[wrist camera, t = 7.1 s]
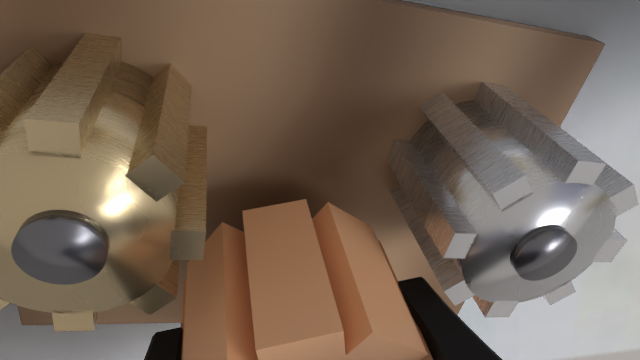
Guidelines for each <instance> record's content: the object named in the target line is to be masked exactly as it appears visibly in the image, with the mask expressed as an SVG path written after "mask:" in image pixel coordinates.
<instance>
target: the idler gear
mask: <svg viewBox="0 0 640 360" xmlns="http://www.w3.org/2000/svg"><path fill="white" fill-rule="evenodd" d="M242 212H243V223H244V232H243V231H240V230H238V229H236V228H234V227H232V226H230V225H228V224H225V223H223V222H222V223H221V224H220V225H219V226H218V227H217V229H216V230H215V231H214V232H213V233H212V235H211V236H210V237H209V238H208V239H207V241H206V242H205V246H204V255H203V260H190V261H189V262H188V263H187V279H184V288H183V305H182V322H181V327H182V330H183V335H182V353H181V360H433V358H432V356H431V353H430V351H429V349H428V347H427V344H426V342H425V340H424V338H423V335H422V333H421V331H420V330H419V328H418V326H417V324H416V322H415V321H414V319H413V317H412V315H411V313H410V311H409V308H408V306H407V304H406V301H405V299H404V297H403V295H402V292H401V290H400V288H399V286H398V280H397V277H396V275H395V273H394V271H393V268H392V266H391V264H390V262H389V260H388V257H387V255H386V253H385V251H384V248H383V246H382V244H381V242H380V240H377V238H376V236H375V233H374V231H373V229H372V227H371V226H369V225H368V224H366V223H364V222H362V221H360V220H359V219H357V218H355V217H353V216H352V215H350V214H348V213H346V212H345V211H343V210H341V209H339V208H338V207H336V206H334V205H332V204H331V203H329V202H327V204H326V205H325V206H324V207H323V208H322V209H321V210H320V211H319V212H318V213H317V214H316V215H315V216H314V217H313V218H311V214H310V211H309V207H308V204H307V200H306V199H303V200H298V201H293V202H287V203H282V204H277V205H271V206H266V207H261V208H255V209H250V210H244V211H242Z"/></svg>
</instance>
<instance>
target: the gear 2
mask: <svg viewBox="0 0 640 360" xmlns="http://www.w3.org/2000/svg"><path fill="white" fill-rule="evenodd" d="M419 107H420V109H421V111H422V113H423V114H424V116H425V118H426V120H427V121H426V122H425V123H424V124H423V125H422V126H421V127H420V128H419V129H418V131H417V132H416V133H415V135H414V136H413V137H412V139H411V140H402V139H393V141H392V144H391V147H390V150H389V153H388V156H387V158H386V161H387V163H388V164H389V166H390V168H391V169H392V171H393V173H394V175H395V176H396V178H397V180H398V181H399V183H400V184H399V185H397V186H395V187H394V188H392V189H391V190H389V191H390V193H391V194H392V196H393V198H394V200H395V202H396V204H397V205H398V207H399V209H400V211H401V213H402V215H403V217H404V218H405V220H406V222H407V224H408V226H409V228H410V230H411V231H412V233H413V235H414V237H415V239H416V241H417V243H418V244H419V246H420V248H421V250H422V252H423V254H424V256H425V257H426V259H427V261H428V263H429V265H430V267H431V269H432V270H433V272H434V274H435V276H436V278H437V280H438V281H439V283H440V285H441V287H442V289H443V291H444V292H445V294H446V295H447V296H448V298H449V299H450V300H451V301H452V303H453V304H454V305H455V306H456V305H458V304H460V303H461V302H463V301H465V300H467V299H469V298H470V297H472V296H473V298H474V300H475V301H476V303H477V305H478V306H479V308H480V310H481V311H482V313H483V315H484V316H485V317H509V316H510V314H511V313H512V311H513V310H514V308H515V307H516V305H517V303H518V302H524V301H528V300H532V299H535V298H538V297H541V296H544V298H545V299H546V300H547V302H548V303H549V304H550V305H552V304H554V303H555V302H557V301H559V300H561V299H563V298H565V297H567V296H569V295H570V294H572V293H574V292H576V291H575V289H574V287H573V284H572V282H571V280H573V279H574V278H576V277H577V276H578V275H580V274H581V273H582V272H583V271H584V270H585V269H587V268H588V267H589V266H590V265H591V264H592V263H593V262H612V260H613V259H614V258H615V256H616V255H617V254H618V252H619V251H620V249H621V248H622V247H623V245H624V244H625V243H626V241H627V240H626V239H625V238H624V237H623V236H622V235H621V234H620V233H619V232H618V231H617V230H616V229H614V225H615V217H617V216H618V215H620V214H622V213H624V212H626V211H627V210H629V209H631V208H633V207H635V206H636V205H638V200H637V196H636V191H635V187H634V184H633V183H631V182H630V181H629V180H627V179H626V178H625V177H624V176H622V175H621V174H620V173H618V172H617V171H616V170H614V169H613V168H612V167H611V166H609V165H608V164H607V163H605V162H604V161H603V160H601V159H600V158H599V157H598V156H596V155H595V154H594V153H592V152H591V151H590V150H588V149H587V148H586V147H585V146H583V145H582V144H581V143H579V142H578V141H577V140H575V139H574V138H573V137H572V136H570V135H569V134H568V133H566V132H565V131H564V130H562V129H561V128H560V127H559V126H557V125H556V124H555V123H553V122H552V121H551V120H549V119H548V118H547V117H546V116H544V115H543V114H542V113H540V112H539V111H538V110H537V109H535V108H534V107H533V106H531V105H530V104H528V103H527V102H526V101H524V100H523V99H522V98H521V97H519V96H518V95H517V94H515V93H514V92H513V91H511V90H510V89H509V88H508V87H506V86H505V85H502V84H495V83H489V82H481V84H480V87H479V89H478V92H477V94H476V96H475V99H474V100H469V101H464V102H460V103H457V104H454V103H453V102H452V101H451V100H450V99H449V98H448V97H447V96H446V95H445V94H444V93H443V92H441V93H439V94H438V95H436V96H434V97H433V98H431V99H430V100H428V101H427V102H425V103H424V104H422V105H421V106H419Z"/></svg>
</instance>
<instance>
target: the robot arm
mask: <svg viewBox="0 0 640 360" xmlns="http://www.w3.org/2000/svg"><path fill="white" fill-rule="evenodd" d="M398 286H399V288H400V290H401V292H402V295H403V297H404V299H405V301H406V304H407V306H408V308H409V311H410V313H411V315H412V317H413V319H414V321H415V322H416V324H417V326H418V328H419V330H420V331H421V333H422V335H423V338H424V340H425V342H426V344H427V347H428V349H429V351H430V353H431V356H432V358H433V360H502V359H501V358H500V357H499V356H498V355H497V354H496V353H495V352H494V351H493V350H491V349H490V348H489V347H488V346H487V345H486V344H485V343H484V342H483V341H482V340H481V339H480V338H479V337H478V336H477V335H476V334H475V333H474V332H473V331H472V330H471V329H470V328H469V327H468V326H467V325H466V324H465V323H464V322H463V321H462V320H461V319H460V318H459V317H458V316H457V315H456V314H455V312H454V311H453V310H452V309H451V308H450V307H449V306H448V305H447V304H446V303H445V302H444V301H443V299H442V298H441V297H440V296H439V295H438V294H437V293H436V292H435V290H434V289H433V288H432V287H431V286H430V285H429V284H428V282H427V281H426V280H425V279H424V278H422V277H416V278H411V279H407V280H402V281H398ZM182 335H183V330H182V327H180V328H175V329H171V330H166V331H161V332H156V333H155V334H154V336H153V337H152V340H151V343H150V345H149V348H148V351H147V353H146V356H145V359H144V360H181V353H182Z"/></svg>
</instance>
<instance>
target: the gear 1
mask: <svg viewBox="0 0 640 360" xmlns="http://www.w3.org/2000/svg"><path fill="white" fill-rule="evenodd" d="M191 94H192V86H191V85H190V84H189V82H188V81H187V80H186V79H185V78H184V77H183V76H182V75H181V74H180V73H179V72H178V71H177V69H176V68H175V67H174V66H173V65H172V64H171V63H170V64H169V65H168V66H166V67H165V68H164V69H163V70H161V71H160V72H159V73H157V74H156V75H155V76H153V77H152V76H151V75H149V74H148V73H146V72H144V71H143V70H141V69H139V68H137V67H135V66H132V65H130V64H128V63H125V62H122V38H120V37H113V36H106V35H99V34H92V33H85V34H84V36H83V37H82V39H81V40H80V41H79V43H78V44H77V46H76V47H75V48H74V50H73V51H72V53H71V54H70V55H69V57H68V58H67V60H66V61H63V62H60V63H58V64H56V65H54V64H53V63H52V62H51V61H50V60H49V59H48V58H47V57H46V56H44V55H43V54H42V53H41V52H40V51H39V50H38V49H37V48H36V47H35V46H33V45H32V46H31V47H30V48H29V49H28V50H26V51H25V52H24V53H23V54H22V55H20V56H19V57H18V58H17V59H15V60H14V61H13V62H12V63H11V64H9V65H8V66H7V67H6V68H5V69H4V70H3V71H2V73H1V74H0V310H1V309H2V308H4V307H5V306H7V305H8V304H9V303H11V304H14V305H17V306H21V307H24V308H28V309H32V310H37V311H43V312H50V313H52V318H53V325H54V331H94V329H95V325H96V320H97V316H98V312H99V311H103V310H108V309H112V308H115V307H118V306H121V305H124V304H126V303H131V304H132V305H134V306H135V307H137V308H138V309H140V310H142V311H143V312H145V313H146V314H148V315H151V314H153V313H154V312H156V311H157V310H159V309H160V308H162V307H164V306H165V305H167V304H168V303H170V302H172V301H173V300H175V299H176V298H177V287H178V274H179V261H180V260H203V255H204V246H205V236H206V186H207V127H203V126H192V125H189V119H190V106H191Z"/></svg>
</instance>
